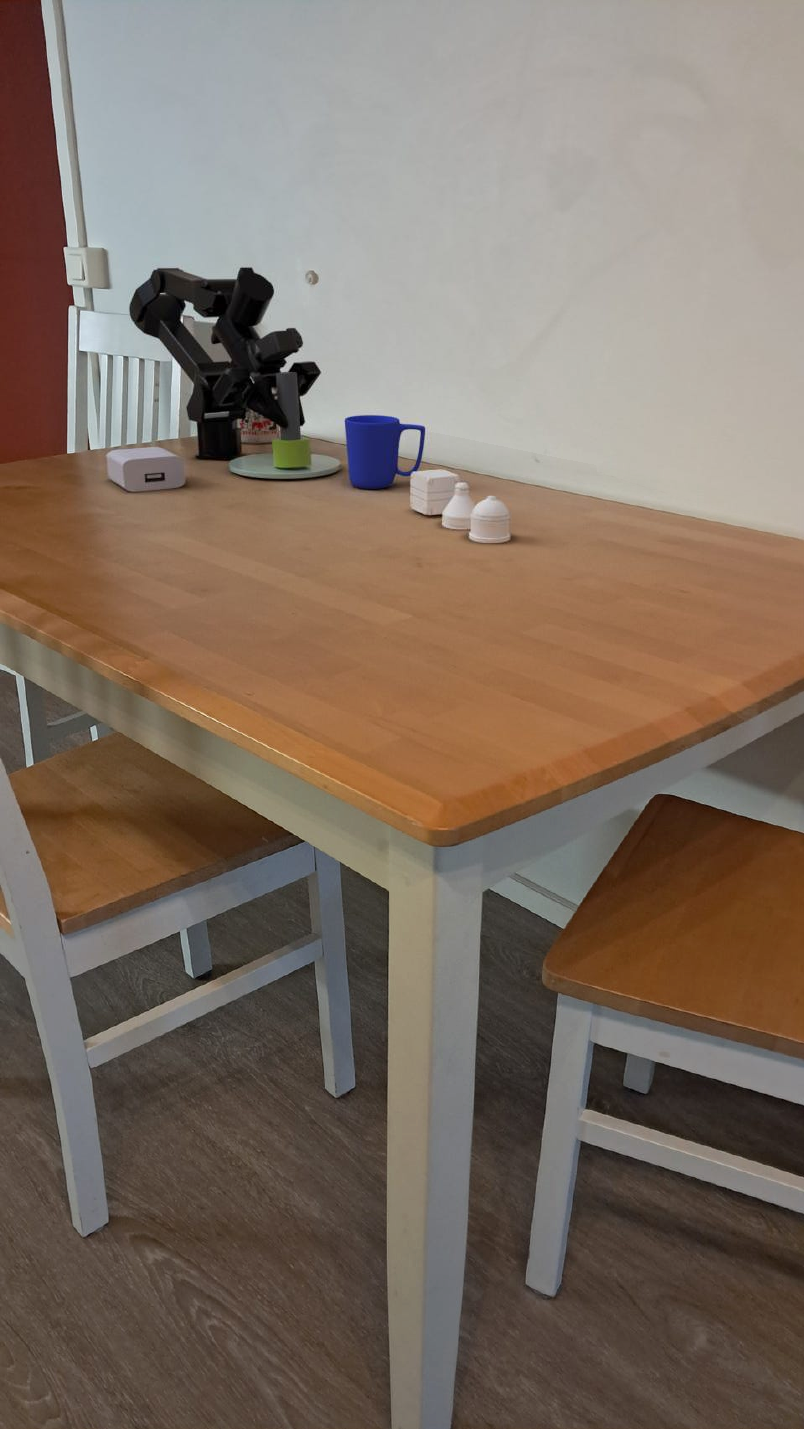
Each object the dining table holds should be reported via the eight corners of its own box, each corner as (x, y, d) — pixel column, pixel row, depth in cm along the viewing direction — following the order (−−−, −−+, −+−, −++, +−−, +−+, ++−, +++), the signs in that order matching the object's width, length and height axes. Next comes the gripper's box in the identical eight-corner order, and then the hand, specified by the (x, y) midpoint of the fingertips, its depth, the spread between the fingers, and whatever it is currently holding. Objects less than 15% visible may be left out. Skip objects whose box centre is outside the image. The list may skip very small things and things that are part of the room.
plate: (214, 478, 167) (214, 470, 166) (247, 457, 183) (246, 450, 182) (327, 483, 164) (326, 475, 164) (349, 462, 180) (349, 454, 180)
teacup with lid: (237, 445, 194) (234, 378, 189) (227, 437, 201) (224, 372, 197) (301, 442, 197) (299, 376, 193) (289, 434, 205) (287, 371, 201)
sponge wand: (274, 468, 166) (267, 374, 161) (272, 463, 172) (265, 372, 167) (313, 466, 167) (307, 372, 162) (309, 461, 173) (303, 371, 168)
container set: (409, 510, 148) (409, 471, 146) (442, 507, 150) (443, 468, 148) (482, 545, 132) (484, 501, 130) (518, 540, 134) (520, 497, 132)
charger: (154, 469, 173) (185, 487, 161) (97, 474, 168) (125, 492, 157) (152, 439, 171) (183, 455, 159) (94, 444, 166) (122, 460, 155)
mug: (423, 492, 159) (425, 424, 155) (343, 491, 159) (342, 422, 155) (424, 481, 167) (425, 415, 163) (347, 480, 167) (346, 414, 163)
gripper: (220, 311, 157) (273, 396, 154) (311, 307, 169) (362, 386, 167) (190, 364, 165) (240, 445, 162) (279, 356, 177) (327, 431, 175)
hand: (294, 425), depth 167 cm, fingers closed on sponge wand, 3 cm apart
